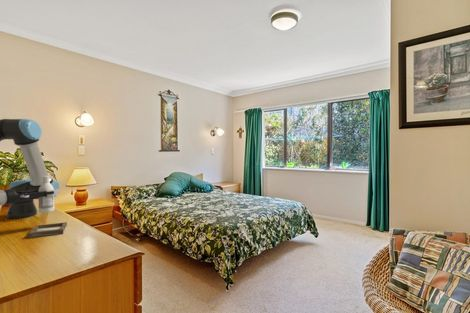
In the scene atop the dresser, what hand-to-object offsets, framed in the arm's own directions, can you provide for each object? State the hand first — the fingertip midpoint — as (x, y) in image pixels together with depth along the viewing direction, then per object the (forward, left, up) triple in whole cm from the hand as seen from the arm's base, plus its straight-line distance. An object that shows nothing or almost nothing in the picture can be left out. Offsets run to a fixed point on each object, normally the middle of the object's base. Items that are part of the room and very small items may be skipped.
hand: (56, 190), depth 143 cm
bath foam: (+3, -4, -11) cm, 12 cm away
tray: (+14, -1, -19) cm, 24 cm away
